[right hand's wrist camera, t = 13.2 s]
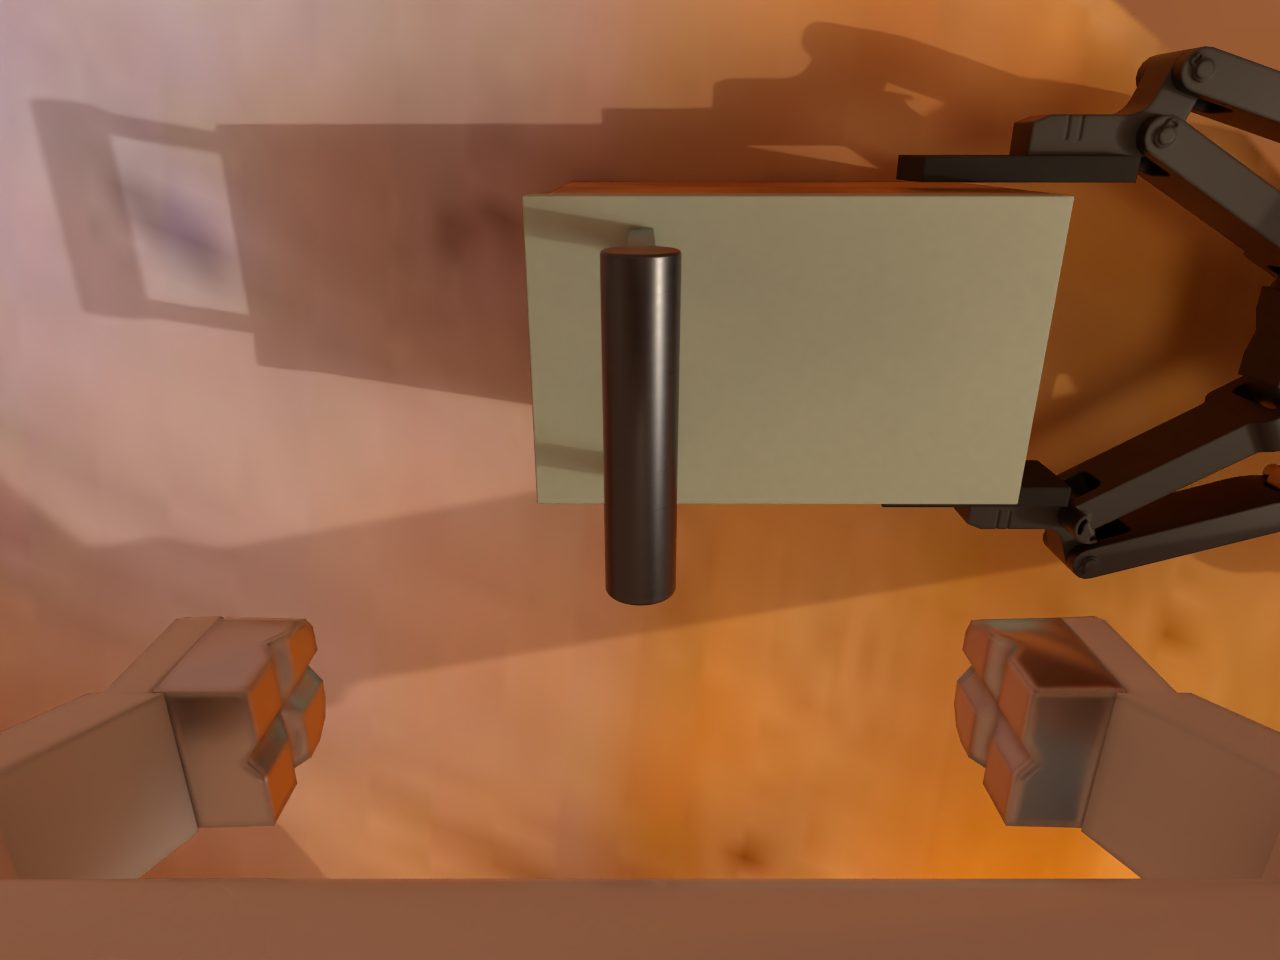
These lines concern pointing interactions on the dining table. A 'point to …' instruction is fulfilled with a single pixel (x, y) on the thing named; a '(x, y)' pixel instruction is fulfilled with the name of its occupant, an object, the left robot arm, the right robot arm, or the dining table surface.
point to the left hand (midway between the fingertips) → (890, 336)
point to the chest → (784, 187)
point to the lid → (781, 353)
